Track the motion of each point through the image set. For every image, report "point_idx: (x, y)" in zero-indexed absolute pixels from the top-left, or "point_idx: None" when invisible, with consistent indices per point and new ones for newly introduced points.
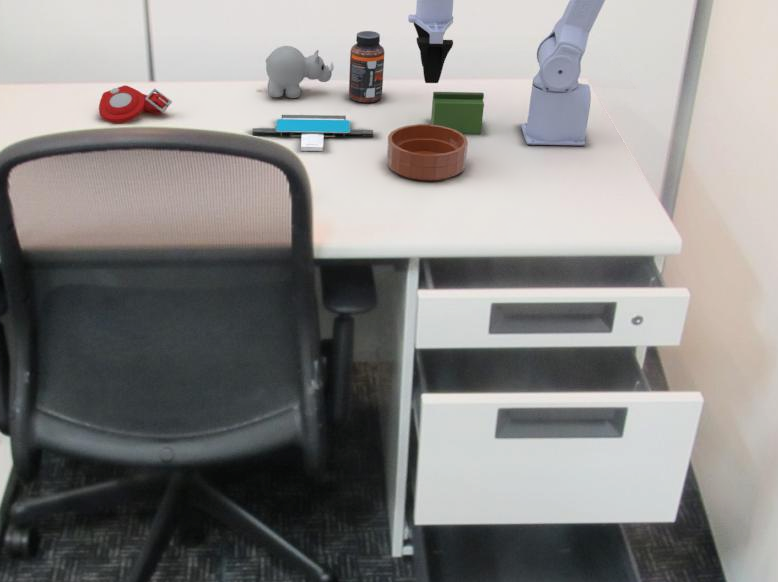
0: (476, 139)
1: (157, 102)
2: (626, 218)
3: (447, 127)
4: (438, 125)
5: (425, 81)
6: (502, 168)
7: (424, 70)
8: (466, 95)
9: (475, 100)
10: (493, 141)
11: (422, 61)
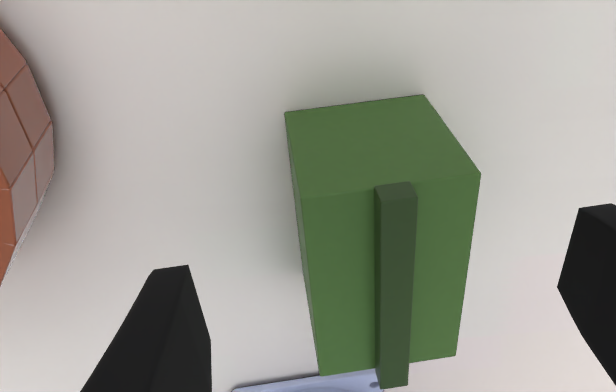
0: (250, 266)
1: None
2: None
3: (5, 264)
4: (11, 224)
5: (147, 280)
6: (9, 350)
7: (96, 368)
8: (380, 332)
9: (358, 349)
10: (243, 312)
11: (605, 236)
